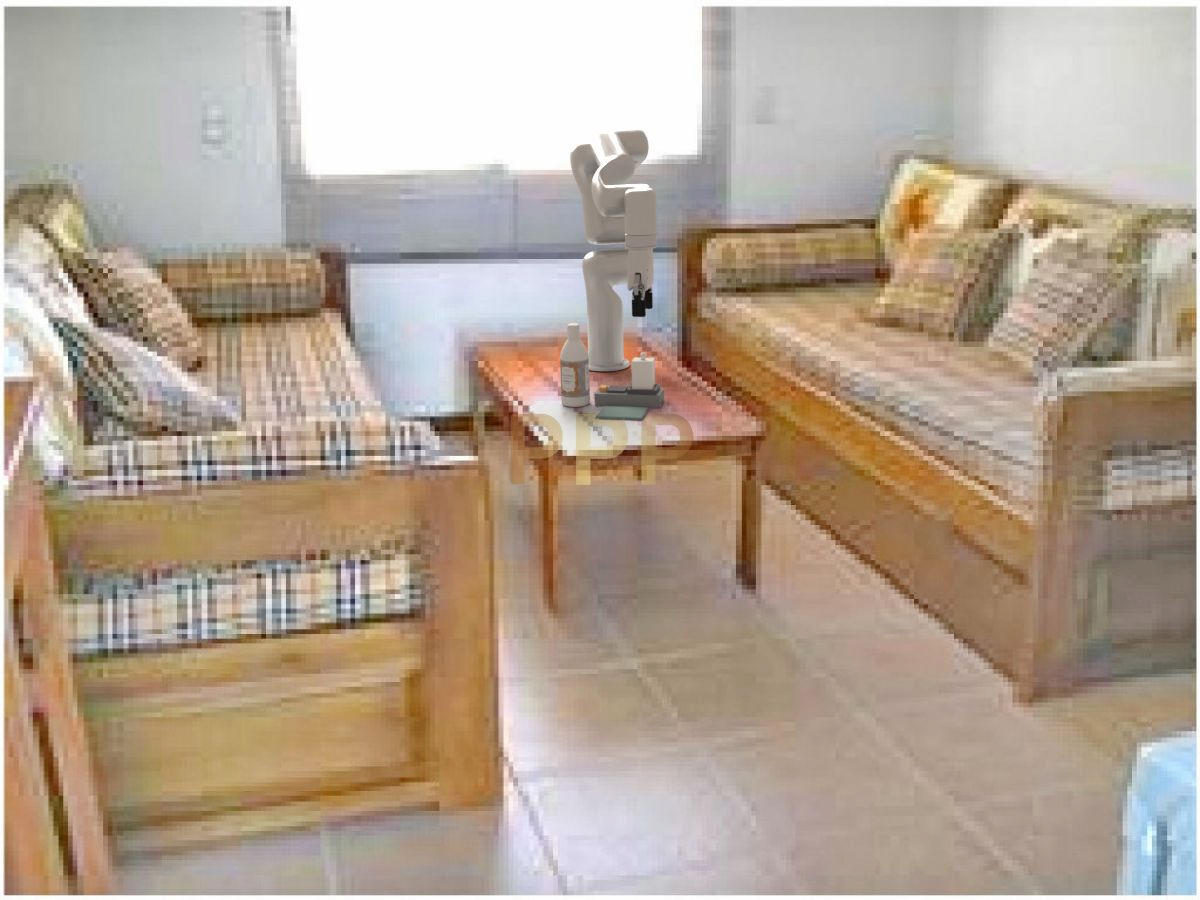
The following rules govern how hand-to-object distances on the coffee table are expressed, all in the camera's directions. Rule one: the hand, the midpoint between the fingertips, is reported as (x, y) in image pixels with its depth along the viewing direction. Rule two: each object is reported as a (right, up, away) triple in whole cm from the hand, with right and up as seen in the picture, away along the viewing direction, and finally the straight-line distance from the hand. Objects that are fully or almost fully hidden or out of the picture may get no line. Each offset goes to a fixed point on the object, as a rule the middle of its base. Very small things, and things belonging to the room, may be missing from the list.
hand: (642, 312), depth 331 cm
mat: (-5, -24, -1) cm, 25 cm away
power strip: (-3, -21, +8) cm, 23 cm away
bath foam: (-16, -22, +8) cm, 28 cm away
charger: (0, -19, +6) cm, 20 cm away
